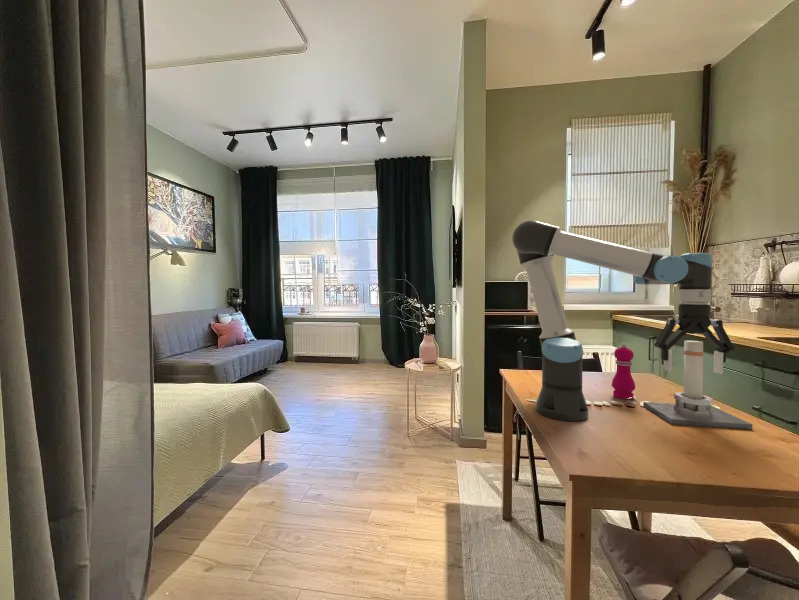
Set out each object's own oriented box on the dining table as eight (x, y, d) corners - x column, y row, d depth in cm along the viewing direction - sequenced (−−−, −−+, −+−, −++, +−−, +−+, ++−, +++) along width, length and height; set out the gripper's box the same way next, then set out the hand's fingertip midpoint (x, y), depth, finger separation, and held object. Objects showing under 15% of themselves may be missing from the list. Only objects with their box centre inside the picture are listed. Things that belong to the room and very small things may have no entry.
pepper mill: (639, 400, 121) (640, 344, 120) (619, 400, 121) (620, 344, 120) (626, 394, 128) (627, 341, 127) (607, 394, 128) (608, 341, 128)
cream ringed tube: (689, 414, 102) (690, 342, 102) (679, 409, 107) (680, 340, 107) (706, 415, 102) (707, 342, 101) (696, 410, 106) (697, 340, 106)
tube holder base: (671, 424, 98) (671, 402, 98) (643, 406, 114) (643, 387, 114) (752, 429, 94) (752, 406, 94) (711, 410, 110) (711, 390, 110)
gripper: (655, 303, 102) (653, 372, 103) (752, 304, 98) (750, 377, 98) (642, 302, 110) (641, 367, 110) (732, 303, 105) (730, 371, 105)
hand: (692, 372), depth 104 cm, fingers open, 13 cm apart
